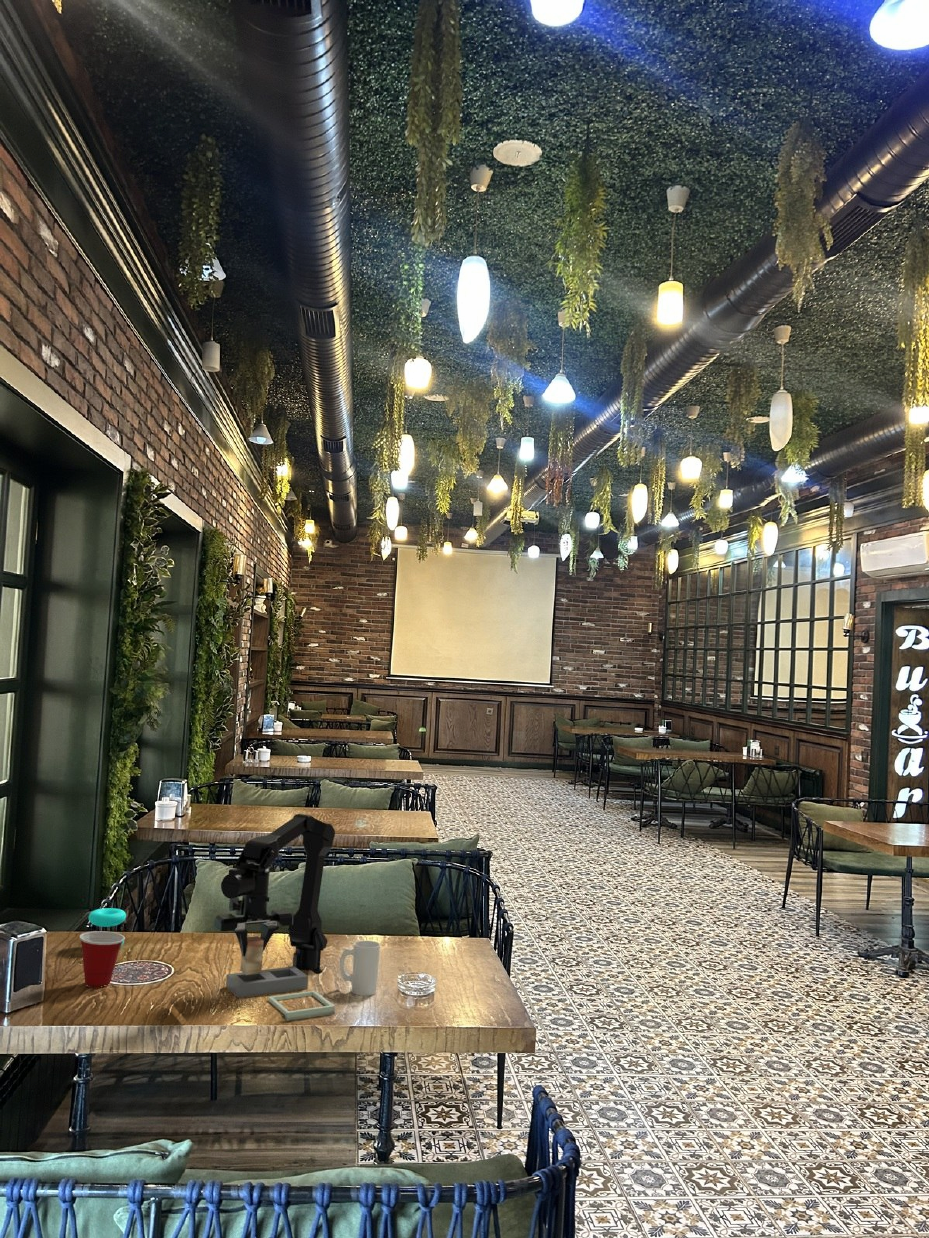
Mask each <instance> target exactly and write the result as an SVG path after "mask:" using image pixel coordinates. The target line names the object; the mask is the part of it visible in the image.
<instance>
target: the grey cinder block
mask: <svg viewBox="0 0 929 1238" xmlns="http://www.w3.org/2000/svg"><path fill="white" fill-rule="evenodd" d="M308 979H309V976H308V975H307V974H305V973H304V972H303V971H302V970H299V969H297V968H296V967H295V966H293V965H292V966H286V967H277V968H269V969H268V968H267V969H262V971H261V973H259V974H250V975H245V974H244V973H243V972H242V971H241V972H237V973H236V972H235V973H228V974H226V980H225V981H226V982H225V988H227V989H228V990H229V991H230V992H231V993H232V994H233V995H234V996H235V997H237V998H238V999H239V998H241V999H242V998H248V997H249V998H250V997H255V996H264V995H270V994H278V993H286V992H293V991H300V990H307V989H308V982H309V981H308Z"/></svg>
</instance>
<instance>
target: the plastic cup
mask: <svg viewBox="0 0 929 1238" xmlns="http://www.w3.org/2000/svg"><path fill="white" fill-rule="evenodd" d="M114 932H115V931H103V930H102V931H100V930H99V931H98V930H95V931H86V932H83V933H81V934H79V940H80V942H81V950H82V951H81V953H82V963H83V964H82V966H83V967H82V968H83V973H84V983H85V986H86V985H88V986H90V987H89V988H91V987H100V988H102V987H101V986H104V985H108V984H109V983H110V984H111V981H112V979H113V978H112V977H113V973H114V970H115V967H116V965H117V958H118V956H119V952H120V949H121V947H122V946H123V945H122V942H123V941H124V942H125V940H126V937H125V935H123V934H121V933H118V932H115V933H114ZM121 945H122V946H121ZM110 984H109V985H110ZM109 985H108V986H109Z"/></svg>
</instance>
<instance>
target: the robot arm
mask: <svg viewBox="0 0 929 1238" xmlns="http://www.w3.org/2000/svg"><path fill="white" fill-rule="evenodd" d="M300 836H302V846H303V848H304V850H305V853H306V856H305V857H306V859H305V864H304V872H303V879H302V885H301V893H300V901H299V906H298V909H297V911H296V912H295V913H294V915H293V914H292V913H291V912H290V911H288V910H287V909H285V908H283V909H273V910H271V913H270V914H269V913H267V912H268V902H270V896H269V884H270V883H269V882H270V873H273V872H275V871H276V868H275V867H274V866H273V864H272V863H273V862H274V861H275V860H276V859H278V857H279V854H280V851H282V849H283V848H284V847H286V846H287V845H288V844H290V843H291V842H293V841H294V840H295V839H297V838H299V837H300ZM335 837H336V831H335V828H334V827H333V824H331V823H326V822H324V821H321V820H319V819H317V818H316V817H314V816H312V815H311V814H310V815H309V814H306V813H305V814H303V813H296V814H294V815H293V817H292V818H291V819H289V820H288V821H286V822H285V823H283V824H282V825H280V826H279V827H278V828H277V829H274V830H273V831H272V832H270V833H269V834H267V835H262V836H255V838H251V839H249V840H248V841H247V842H246V843H245V844H244V847H243V849H241V850H242V851H241V853H240V855H239V856H238V859H237V861H236V862H235V864H234V868H230V869H228V873H227V874H226V875H225V876H224V877H223V879H222V880H221V883H220V889H221V893H222V894H223V895H224V897H225V898H227V899H229V901H228V902H229V903H228V909H229V912H234V911H235V913H236V914H235V915H236V916H240V917H236V916H235V915H233V914H232V913H224V914H217V915H216V917H215V918H214V927H215V929H218V930H219V931H220V932H232V933H234V934H235V935H236V938H237V942H238V946H239V948H240V953H241V955H242V956H243V957H245V954H246V946H247V937H248V932H249V931H248V930H247V929H246V926H247V925H256V924H259V925H260V936H259V937H260V938H261V939H263V940H264V943H263V952H264V951H265V949H266V947H267V945H268V943H269V941H270V940H271V938H272V936H273V935H274V933H275V932H276V931H278V930H279V929H280V927H279V926H278V923H279V925H281V926H282V927H284V926H285V927H287V926H288V928H287V931H288V937H289V941H290V947H294V948H295V951H294V952H293V956H292V966H295V967H296V968H297V969H299V970H300V971H311V972H313V973H314V974H316V973H317V974H319V973H322V972H323V969H322V968H321V956H322V951H324V950H325V949H326V948H327V944H328V941H329V940H328V938H327V937H326V935H325V934H324V932H323V931H322V925H323V924H322V922H323V921H322V918H321V916H320V913H319V911H318V910H319V901H320V895H321V894H320V893H321V886H322V880H323V872H324V866H325V865H324V864H325V858H326V855H327V854H328V853H329V852H330V851H331V849H332V847H333V844H334V840H335ZM239 897H242V899H241V900H240V899H239Z"/></svg>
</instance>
